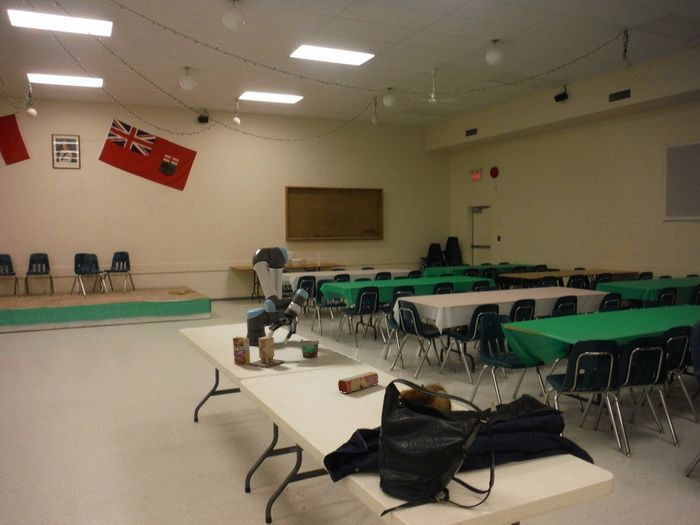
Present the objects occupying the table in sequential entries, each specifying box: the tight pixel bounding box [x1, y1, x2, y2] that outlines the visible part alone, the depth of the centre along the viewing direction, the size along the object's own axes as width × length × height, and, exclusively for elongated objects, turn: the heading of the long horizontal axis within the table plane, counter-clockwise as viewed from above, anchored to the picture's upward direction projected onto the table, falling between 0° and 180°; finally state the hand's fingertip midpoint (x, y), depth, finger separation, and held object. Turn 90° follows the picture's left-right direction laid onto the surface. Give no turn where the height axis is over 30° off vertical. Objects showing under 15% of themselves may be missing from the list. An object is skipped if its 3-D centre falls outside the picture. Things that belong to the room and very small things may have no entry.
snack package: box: [337, 371, 379, 394], centre depth 261 cm, size 21×7×7 cm, turn 132°
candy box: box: [232, 336, 251, 366], centre depth 315 cm, size 9×4×15 cm, turn 60°
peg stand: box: [248, 357, 286, 369], centre depth 313 cm, size 14×14×4 cm
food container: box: [299, 338, 320, 359], centre depth 325 cm, size 12×6×10 cm, turn 62°
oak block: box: [258, 335, 275, 359], centre depth 313 cm, size 6×6×11 cm
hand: (275, 341), depth 320 cm, fingers open, 13 cm apart
